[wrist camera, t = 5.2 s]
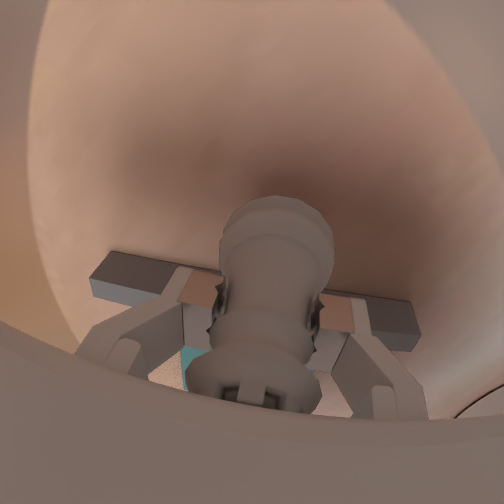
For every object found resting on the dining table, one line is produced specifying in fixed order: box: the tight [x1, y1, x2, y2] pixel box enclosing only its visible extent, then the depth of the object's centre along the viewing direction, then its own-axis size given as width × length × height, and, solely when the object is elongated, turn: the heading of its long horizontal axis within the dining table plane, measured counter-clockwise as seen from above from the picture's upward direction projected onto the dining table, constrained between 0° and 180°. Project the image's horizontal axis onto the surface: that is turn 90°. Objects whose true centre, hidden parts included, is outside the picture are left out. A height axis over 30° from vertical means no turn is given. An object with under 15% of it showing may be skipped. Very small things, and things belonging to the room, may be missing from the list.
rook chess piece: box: [185, 195, 335, 414], centre depth 9 cm, size 4×4×8 cm
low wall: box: [89, 251, 421, 352], centre depth 18 cm, size 20×2×3 cm, turn 84°
